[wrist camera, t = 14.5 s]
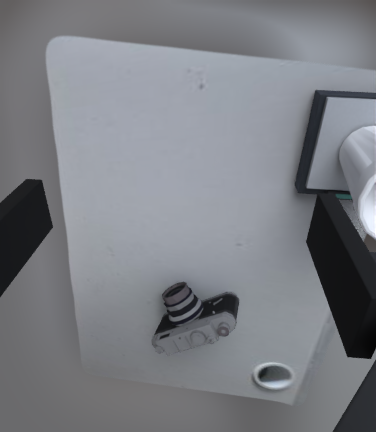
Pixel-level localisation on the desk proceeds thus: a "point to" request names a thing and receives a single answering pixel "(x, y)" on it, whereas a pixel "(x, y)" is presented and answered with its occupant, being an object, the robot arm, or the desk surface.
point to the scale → (331, 139)
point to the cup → (361, 174)
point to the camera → (193, 319)
